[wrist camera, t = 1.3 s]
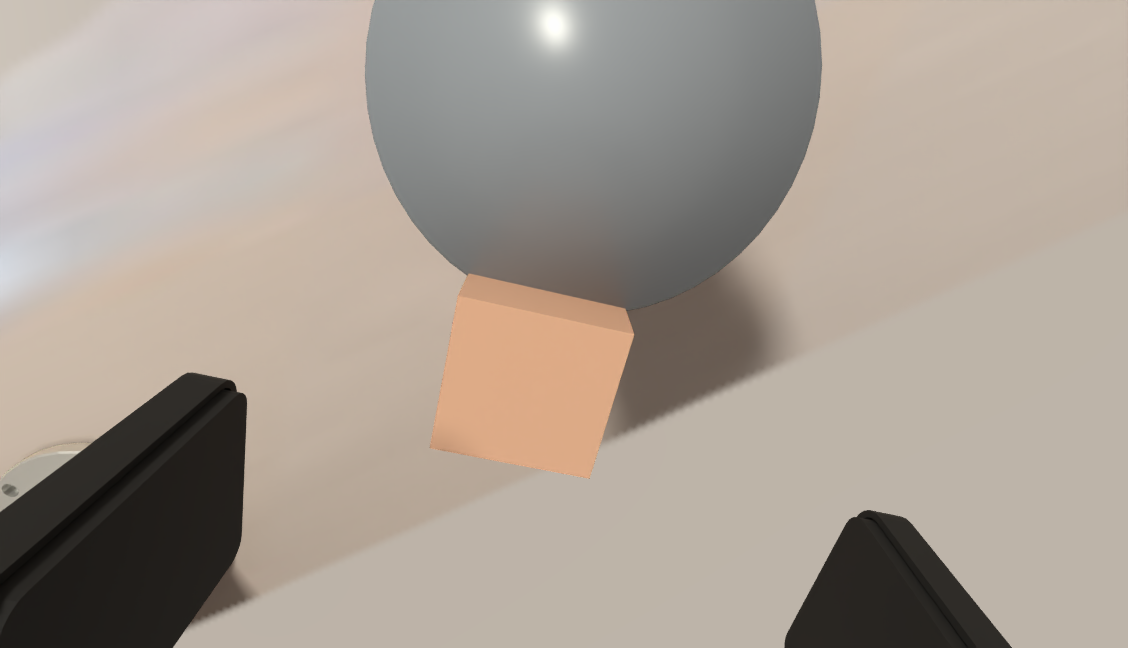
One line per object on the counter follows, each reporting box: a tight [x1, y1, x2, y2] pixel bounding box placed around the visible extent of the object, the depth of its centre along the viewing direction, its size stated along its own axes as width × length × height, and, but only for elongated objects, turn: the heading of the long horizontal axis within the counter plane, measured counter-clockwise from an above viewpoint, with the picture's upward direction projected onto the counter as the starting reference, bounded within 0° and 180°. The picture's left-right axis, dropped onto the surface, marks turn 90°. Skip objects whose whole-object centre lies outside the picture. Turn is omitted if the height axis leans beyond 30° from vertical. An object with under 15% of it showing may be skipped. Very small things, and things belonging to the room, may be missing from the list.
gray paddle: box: [365, 0, 822, 478], centre depth 13 cm, size 14×10×2 cm
